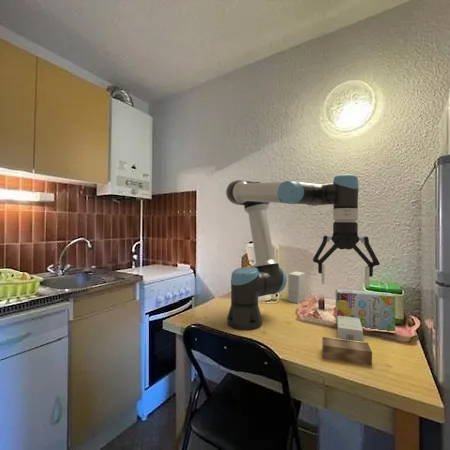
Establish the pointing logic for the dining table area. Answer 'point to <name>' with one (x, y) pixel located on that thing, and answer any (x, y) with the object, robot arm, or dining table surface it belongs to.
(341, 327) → the small box
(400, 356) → the dining table surface
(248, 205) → the robot arm
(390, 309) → the snack box
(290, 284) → the skincare box
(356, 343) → the walnut step
